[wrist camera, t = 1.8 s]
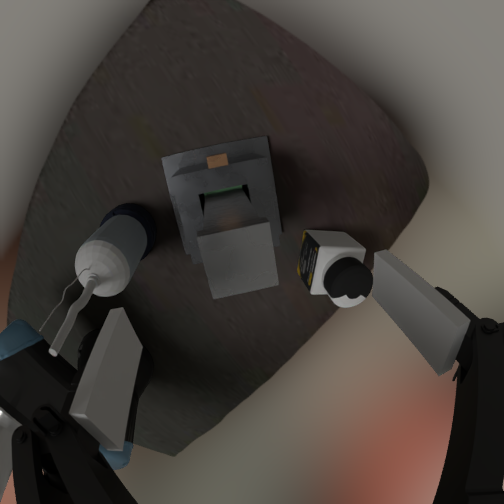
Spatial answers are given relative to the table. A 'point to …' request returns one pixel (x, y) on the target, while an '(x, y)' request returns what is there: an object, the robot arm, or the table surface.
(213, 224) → the column
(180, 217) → the stand housing
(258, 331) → the table surface
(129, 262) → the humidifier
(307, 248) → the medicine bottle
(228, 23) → the table surface
